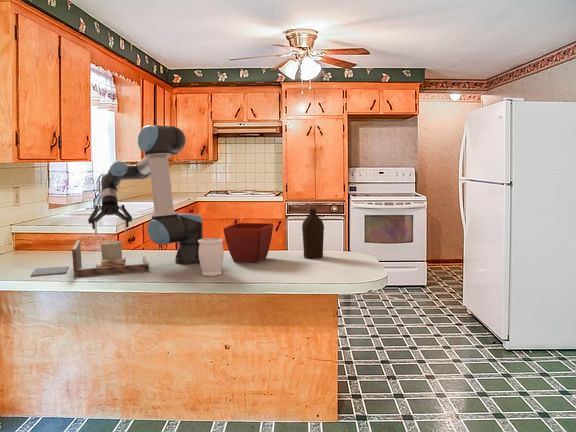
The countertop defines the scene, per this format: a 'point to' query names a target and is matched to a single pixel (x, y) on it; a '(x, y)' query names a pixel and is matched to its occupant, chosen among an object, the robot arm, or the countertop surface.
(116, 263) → the offcut stack
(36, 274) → the mat
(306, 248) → the olive oil
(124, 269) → the rack
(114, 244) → the can
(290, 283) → the countertop surface
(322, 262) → the countertop surface
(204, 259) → the jar
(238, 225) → the plant pot
